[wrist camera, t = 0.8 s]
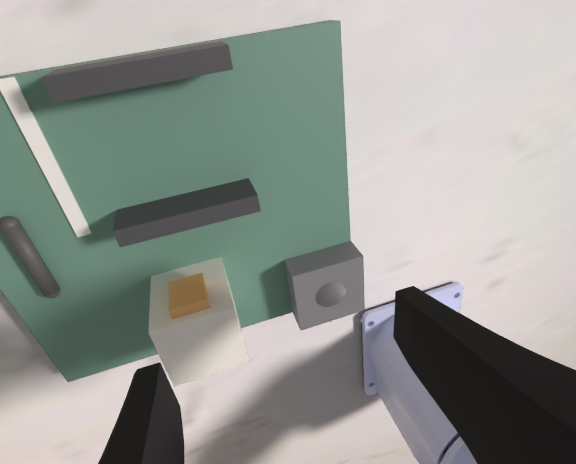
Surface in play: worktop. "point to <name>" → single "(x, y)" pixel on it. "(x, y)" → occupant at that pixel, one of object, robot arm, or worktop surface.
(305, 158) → the board
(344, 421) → the worktop surface
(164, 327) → the plug
